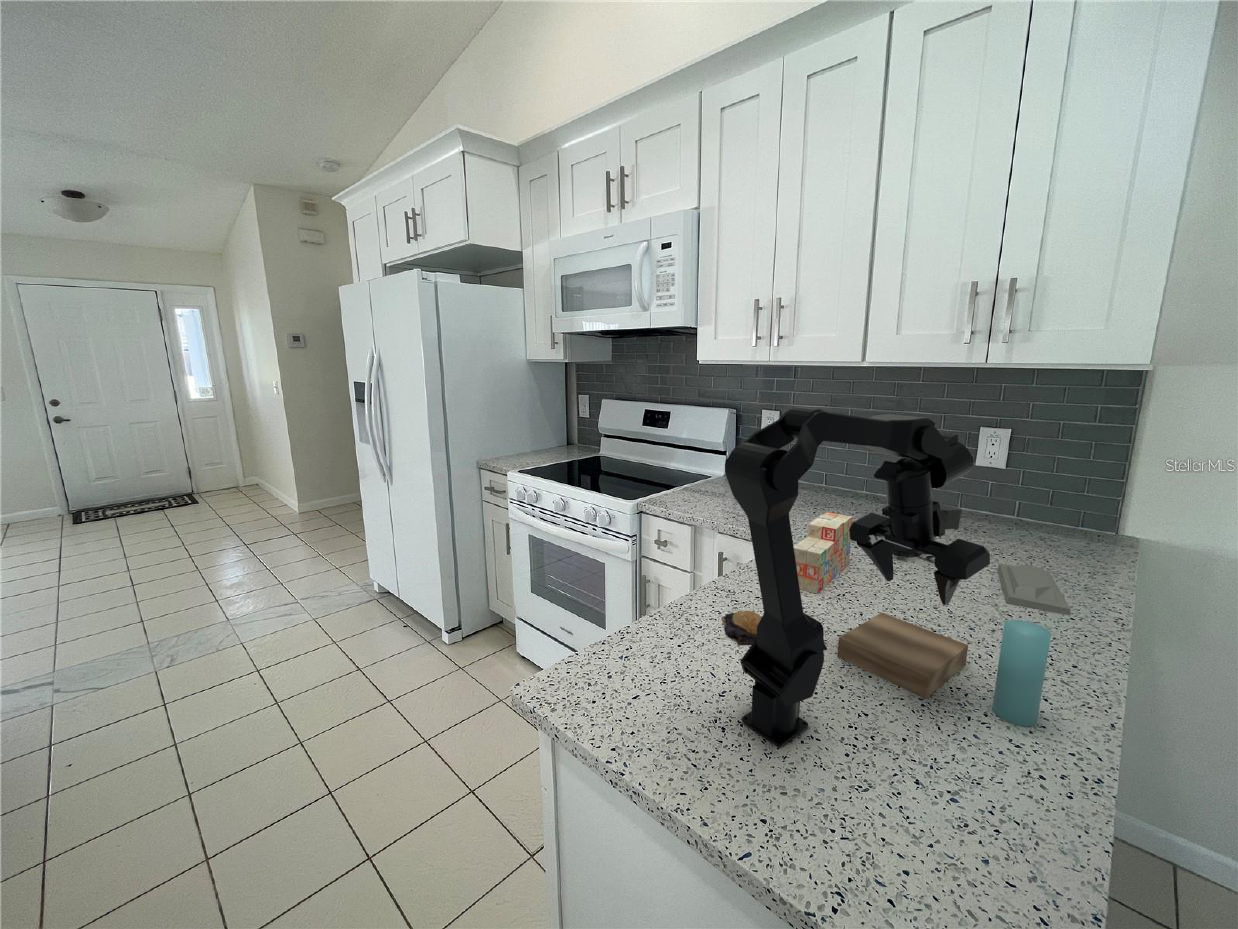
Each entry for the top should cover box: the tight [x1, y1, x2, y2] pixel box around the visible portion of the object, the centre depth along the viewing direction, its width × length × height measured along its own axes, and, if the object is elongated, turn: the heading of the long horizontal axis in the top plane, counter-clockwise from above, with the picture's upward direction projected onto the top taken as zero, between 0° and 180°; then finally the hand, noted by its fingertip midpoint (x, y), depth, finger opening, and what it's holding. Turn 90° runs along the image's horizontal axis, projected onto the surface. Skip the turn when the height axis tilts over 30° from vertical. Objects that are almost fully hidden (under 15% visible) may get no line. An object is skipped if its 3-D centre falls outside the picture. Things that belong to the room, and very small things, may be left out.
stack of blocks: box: [793, 511, 853, 594], centre depth 119 cm, size 21×6×12 cm, turn 140°
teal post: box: [991, 619, 1052, 728], centre depth 71 cm, size 5×5×13 cm
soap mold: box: [996, 563, 1072, 616], centre depth 110 cm, size 10×20×4 cm, turn 149°
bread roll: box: [720, 610, 762, 647], centre depth 96 cm, size 11×8×4 cm
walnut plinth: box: [837, 612, 969, 699], centre depth 86 cm, size 14×14×4 cm
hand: (916, 591), depth 80 cm, fingers open, 9 cm apart
